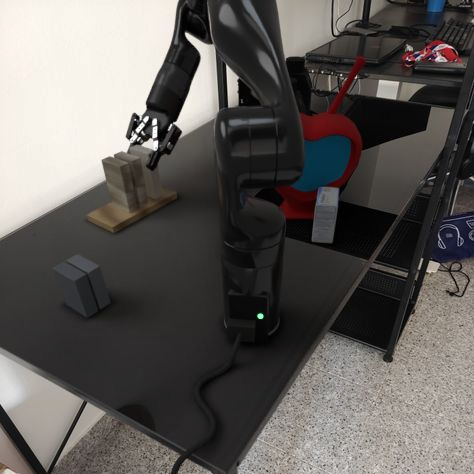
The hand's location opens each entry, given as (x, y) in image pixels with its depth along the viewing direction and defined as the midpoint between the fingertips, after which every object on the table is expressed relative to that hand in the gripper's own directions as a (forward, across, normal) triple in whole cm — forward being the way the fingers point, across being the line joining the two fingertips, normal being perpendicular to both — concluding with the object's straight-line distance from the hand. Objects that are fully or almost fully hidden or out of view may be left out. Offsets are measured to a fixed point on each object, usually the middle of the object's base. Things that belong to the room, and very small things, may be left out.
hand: (139, 165), depth 97 cm
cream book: (+4, 0, +6) cm, 8 cm away
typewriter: (-24, +13, +37) cm, 46 cm away
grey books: (+29, +19, -17) cm, 39 cm away
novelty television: (-8, +32, +20) cm, 39 cm away
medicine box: (-3, +41, +16) cm, 44 cm away
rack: (+9, 0, +4) cm, 10 cm away
